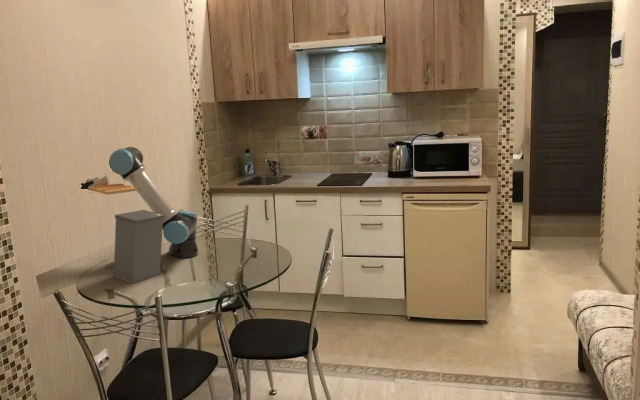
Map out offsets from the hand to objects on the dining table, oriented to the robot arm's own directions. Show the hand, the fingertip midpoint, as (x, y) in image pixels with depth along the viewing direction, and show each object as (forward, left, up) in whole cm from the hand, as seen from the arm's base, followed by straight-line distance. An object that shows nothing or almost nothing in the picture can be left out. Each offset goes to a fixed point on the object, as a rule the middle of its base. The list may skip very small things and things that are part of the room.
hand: (102, 179), depth 236 cm
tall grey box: (-12, +21, -41) cm, 47 cm away
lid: (-1, +2, -4) cm, 5 cm away
